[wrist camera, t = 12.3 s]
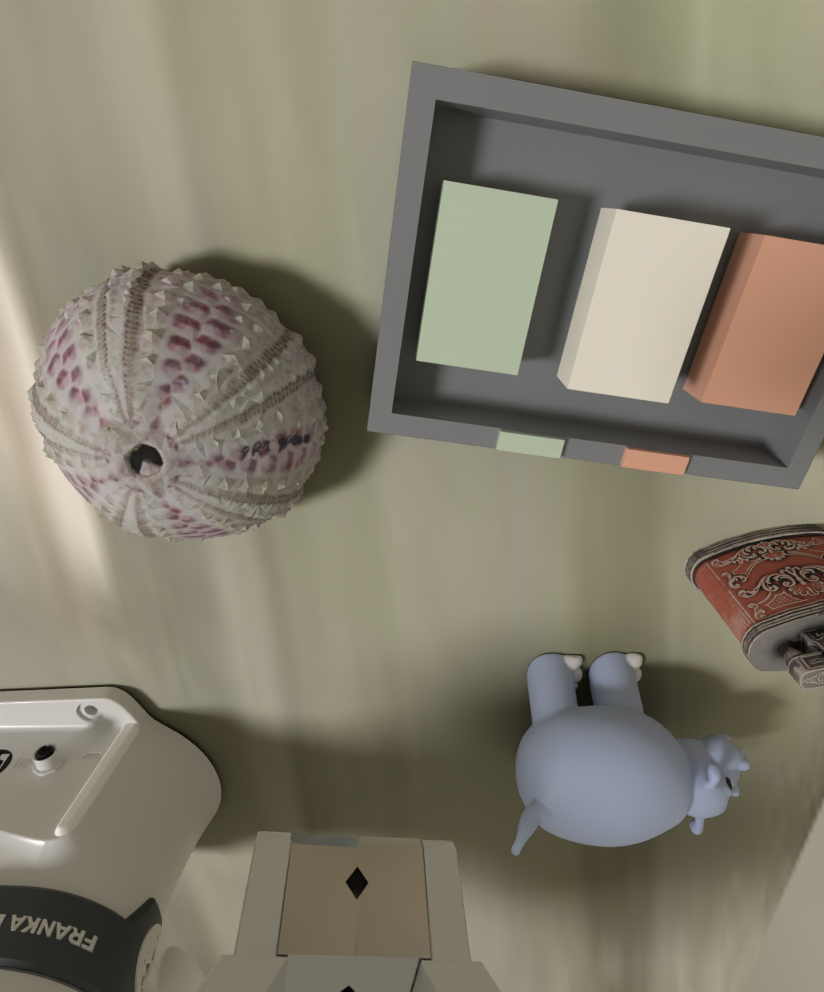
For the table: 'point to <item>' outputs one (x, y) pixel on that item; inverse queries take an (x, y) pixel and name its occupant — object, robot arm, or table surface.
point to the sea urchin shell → (178, 404)
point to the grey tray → (581, 194)
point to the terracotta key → (763, 327)
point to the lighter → (770, 596)
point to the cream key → (639, 304)
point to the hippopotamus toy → (612, 760)
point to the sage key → (483, 276)
